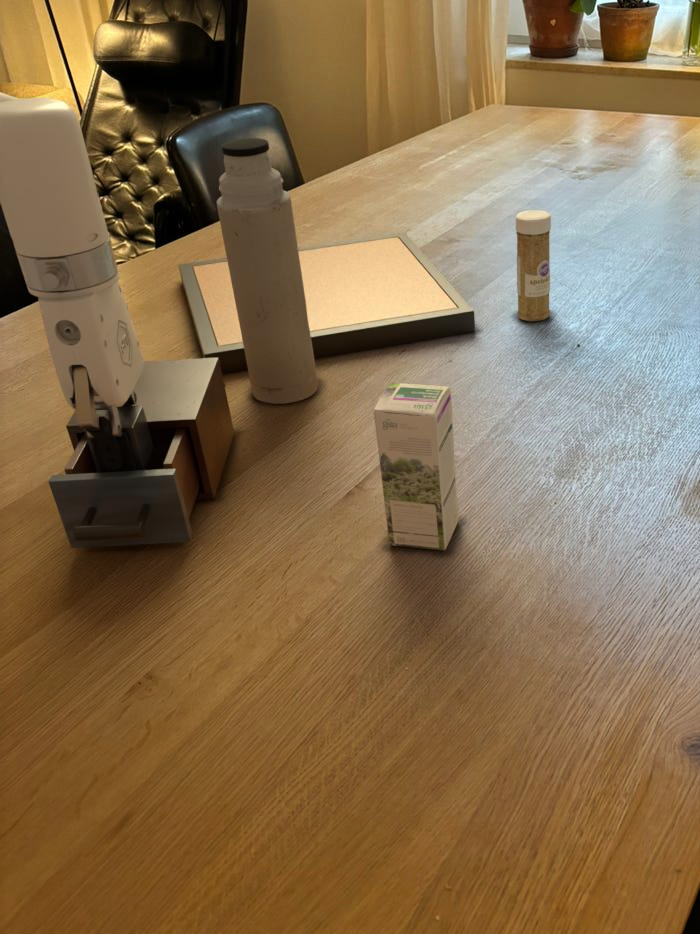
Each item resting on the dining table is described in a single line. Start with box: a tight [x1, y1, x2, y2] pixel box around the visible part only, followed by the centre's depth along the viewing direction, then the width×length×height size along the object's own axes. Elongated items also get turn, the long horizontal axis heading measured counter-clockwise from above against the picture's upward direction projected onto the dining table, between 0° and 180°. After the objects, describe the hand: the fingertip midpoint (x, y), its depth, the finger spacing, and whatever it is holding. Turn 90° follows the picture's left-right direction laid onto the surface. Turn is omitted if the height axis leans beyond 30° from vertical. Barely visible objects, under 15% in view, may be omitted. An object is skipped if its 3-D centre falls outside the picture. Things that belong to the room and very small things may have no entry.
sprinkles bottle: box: [515, 209, 552, 322], centre depth 136 cm, size 5×5×13 cm
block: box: [85, 406, 154, 473], centre depth 96 cm, size 4×4×4 cm
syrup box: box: [373, 382, 460, 551], centre depth 95 cm, size 6×6×14 cm
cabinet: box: [65, 357, 235, 501], centre depth 108 cm, size 15×13×9 cm
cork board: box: [177, 232, 476, 375], centre depth 145 cm, size 36×3×35 cm
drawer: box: [48, 427, 202, 549], centre depth 99 cm, size 18×11×7 cm, turn 2°
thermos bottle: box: [216, 137, 319, 405], centre depth 117 cm, size 8×8×28 cm
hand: (125, 456), depth 97 cm, fingers closed on block, 4 cm apart
